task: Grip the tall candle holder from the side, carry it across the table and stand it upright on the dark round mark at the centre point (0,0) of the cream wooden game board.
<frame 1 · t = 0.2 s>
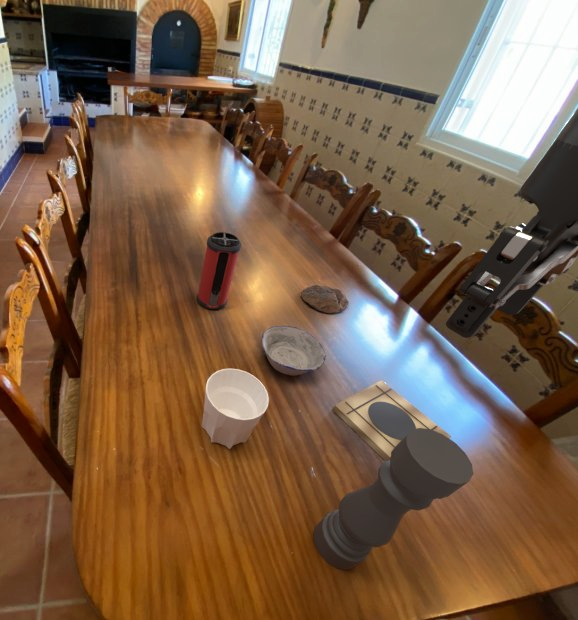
hand: (481, 320, 35), 35 cm above the table, tool pointing down, fingers open, 8 cm apart
speaker: (211, 301, 92), on the table
candle holder: (335, 544, 50), on the table
bowl: (286, 361, 77), on the table
cup: (224, 427, 64), on the table
rock: (322, 301, 95), on the table
board: (387, 424, 66), on the table
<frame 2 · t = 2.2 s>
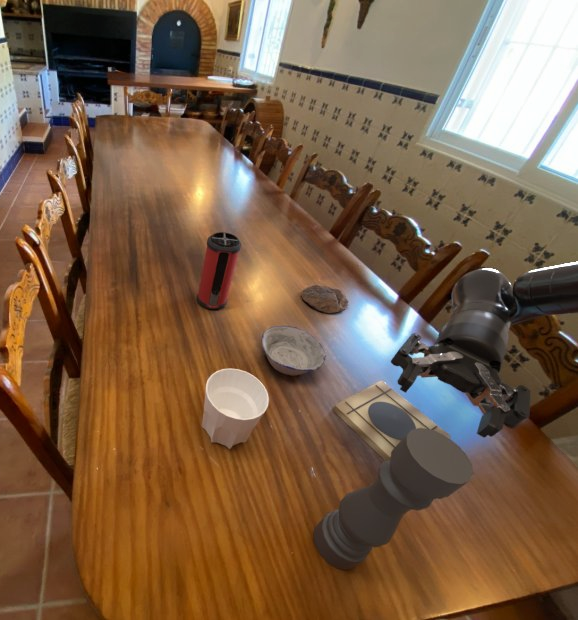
hand: (444, 408, 43), 22 cm above the table, tool horizontal, fingers open, 8 cm apart
nothing on the table moved.
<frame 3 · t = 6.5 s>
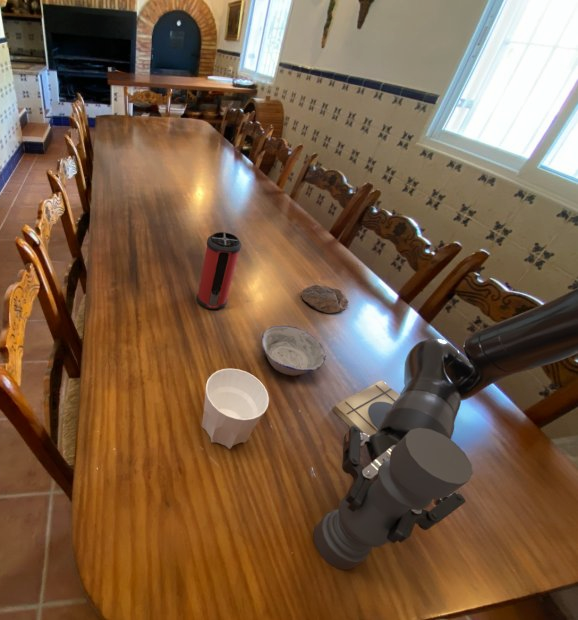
hand: (373, 522, 40), 14 cm above the table, tool horizontal, fingers closed on candle holder, 4 cm apart
candle holder: (335, 544, 50), on the table, touching gripper
everything else where it was.
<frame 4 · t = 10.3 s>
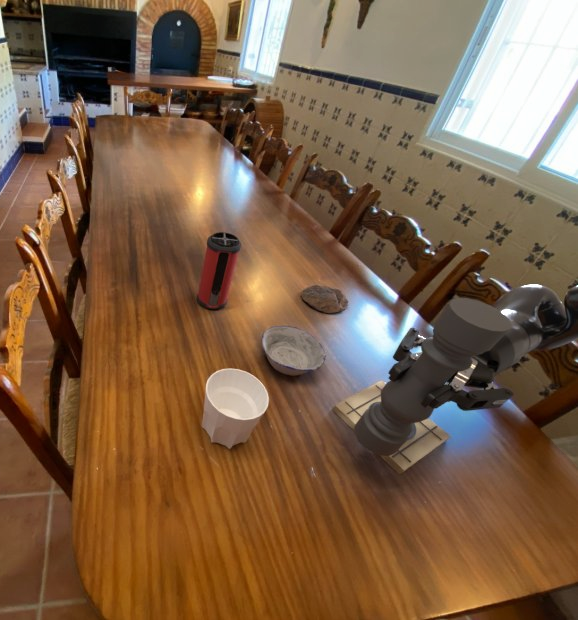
hand: (410, 388, 45), 21 cm above the table, tool horizontal, fingers closed on candle holder, 4 cm apart
candle holder: (374, 437, 55), point 8 cm above the table, touching gripper
everything else where it was.
when the fingers open (15 cm above the table, at t = 14.1 s): candle holder stays where it is, resting on board.
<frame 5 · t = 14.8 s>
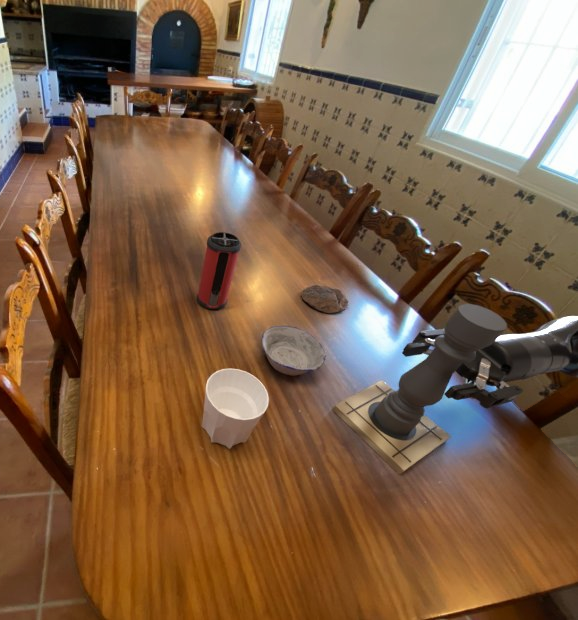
hand: (426, 370, 56), 16 cm above the table, tool horizontal, fingers open, 8 cm apart
candle holder: (392, 420, 65), point 1 cm above the table, touching board
everything else where it was.
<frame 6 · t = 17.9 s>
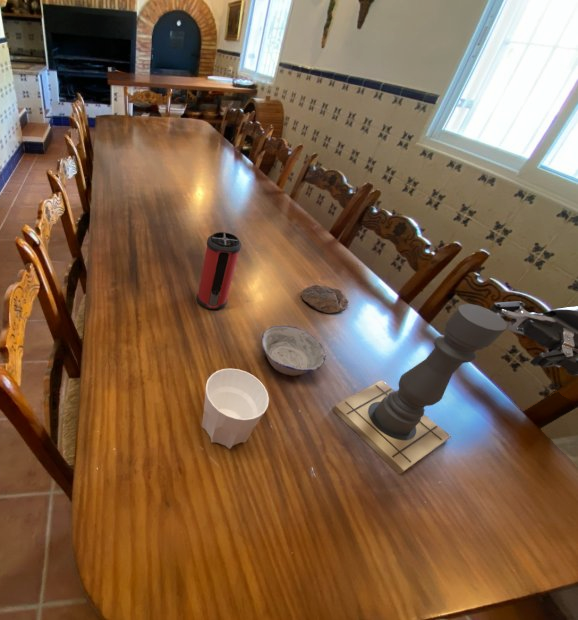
hand: (508, 340, 56), 20 cm above the table, tool horizontal, fingers open, 8 cm apart
nothing on the table moved.
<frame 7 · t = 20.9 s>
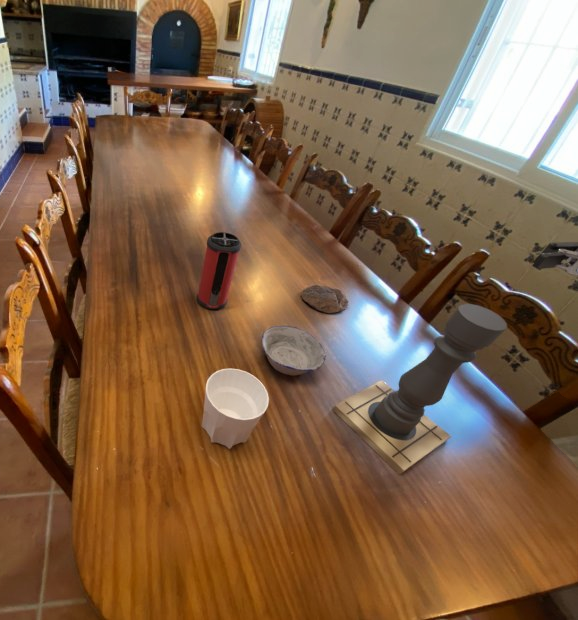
hand: (571, 278, 48), 32 cm above the table, tool horizontal, fingers open, 8 cm apart
nothing on the table moved.
at the end: candle holder 0.2 cm off-centre on the board, point 1.4 cm above the board's base; candle holder tilted 0°; the gripper is holding nothing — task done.
